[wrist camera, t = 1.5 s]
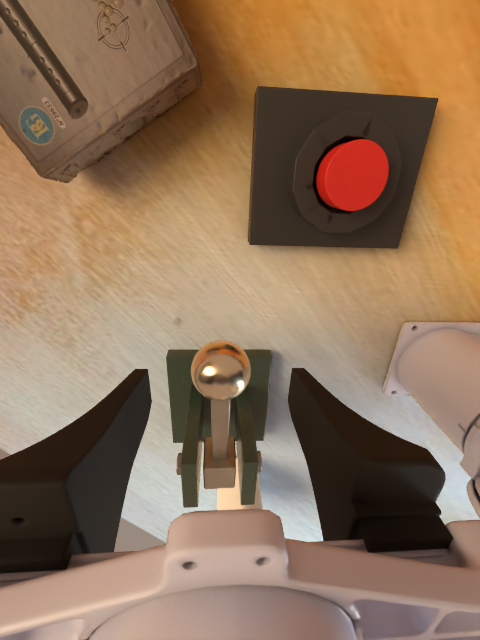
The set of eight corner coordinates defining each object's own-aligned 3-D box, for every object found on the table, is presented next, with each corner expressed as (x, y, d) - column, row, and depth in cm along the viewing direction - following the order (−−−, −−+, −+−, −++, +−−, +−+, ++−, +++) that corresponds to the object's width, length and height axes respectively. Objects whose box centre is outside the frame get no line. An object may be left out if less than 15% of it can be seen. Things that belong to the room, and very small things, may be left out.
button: (380, 144, 17) (396, 140, 16) (366, 209, 19) (380, 212, 17) (320, 141, 17) (331, 137, 15) (311, 207, 18) (320, 209, 17)
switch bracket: (168, 349, 25) (143, 432, 17) (270, 349, 26) (294, 429, 18) (174, 433, 30) (157, 532, 21) (262, 431, 30) (278, 526, 22)
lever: (191, 328, 16) (186, 371, 13) (250, 328, 16) (256, 370, 14) (199, 452, 23) (196, 495, 21) (239, 451, 23) (241, 494, 21)
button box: (424, 103, 19) (461, 89, 16) (388, 244, 23) (412, 254, 20) (254, 92, 18) (261, 75, 15) (247, 241, 22) (252, 250, 19)
